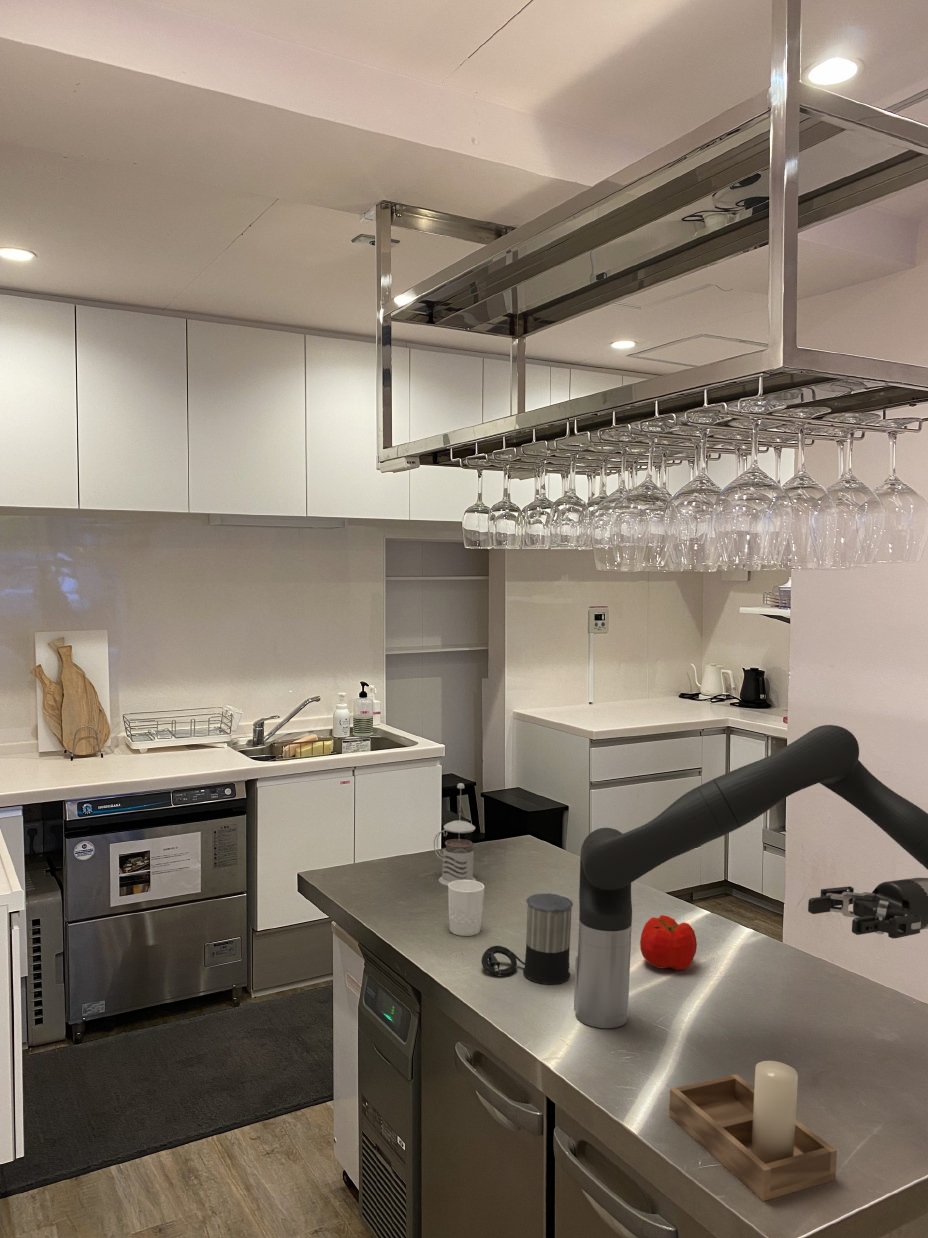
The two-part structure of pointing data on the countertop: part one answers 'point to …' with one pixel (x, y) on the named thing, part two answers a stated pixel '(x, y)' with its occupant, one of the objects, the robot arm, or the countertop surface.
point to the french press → (459, 870)
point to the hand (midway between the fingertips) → (831, 916)
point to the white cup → (465, 907)
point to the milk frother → (540, 942)
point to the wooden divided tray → (748, 1138)
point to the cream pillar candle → (774, 1111)
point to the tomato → (668, 943)
